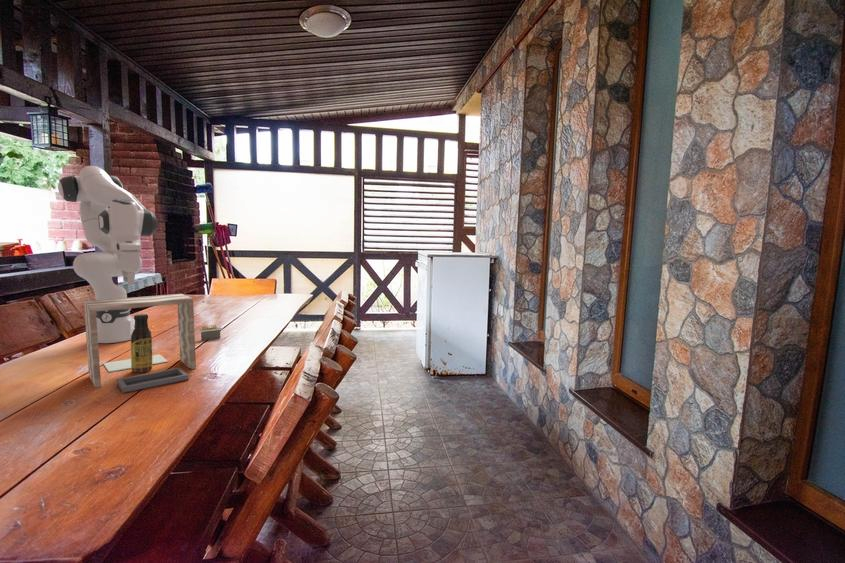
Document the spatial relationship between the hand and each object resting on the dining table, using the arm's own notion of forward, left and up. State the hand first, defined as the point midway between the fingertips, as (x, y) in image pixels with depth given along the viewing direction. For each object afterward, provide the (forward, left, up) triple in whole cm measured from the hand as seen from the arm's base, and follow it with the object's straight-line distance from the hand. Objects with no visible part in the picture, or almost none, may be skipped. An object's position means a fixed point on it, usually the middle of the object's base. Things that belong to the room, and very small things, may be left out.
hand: (128, 282), depth 157 cm
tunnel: (+14, +8, -30) cm, 34 cm away
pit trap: (+25, +15, -30) cm, 41 cm away
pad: (+2, +1, -30) cm, 30 cm away
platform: (-32, +19, -30) cm, 48 cm away
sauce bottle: (+11, +7, -30) cm, 33 cm away
